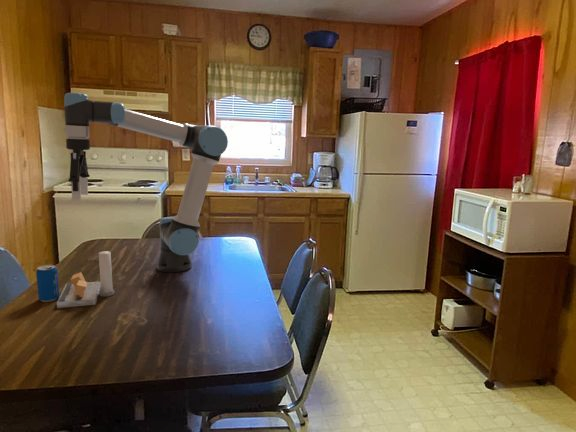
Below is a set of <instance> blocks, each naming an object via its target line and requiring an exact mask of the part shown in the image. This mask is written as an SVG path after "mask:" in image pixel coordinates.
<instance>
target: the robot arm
mask: <svg viewBox="0 0 576 432" xmlns="http://www.w3.org/2000/svg"><path fill="white" fill-rule="evenodd" d="M63 100H64V103H63V104H64V109H63V110H64V123H65V127H64V128H63V131H65V137H66V139H65V143H66V149H67V150H73V151H72V152H70V166H69V167H70V170H69V178H68V183H70V185H71V201H82V196H87V195H89V187H88V186H89V185H88V182H89V181H88V178H90V177H91V175H90V174H89V170H88V163H87V152H86V151H89V150H90V149H91V144H90V143H91V142H90V139H89V138H90V137H91V136H90V135H91V134H90V123H101V124H103V125H105V124H106V125H110V126H113V127H117V128H118V127H119V128H121V129H125V130H129V131H133V132H136V133H137V132H138V133H141V134H146V135H149V136H153V137H156V138H161V139H164V140H168V141H173V142H174V143H175V142H176V143H178V144H179V145H180V146H183V147H186V148H189V149H191V153H190V155H191V157H192V162H191V166H190V170H189V172H188V177H187V180H186V183H185V187H184V190H183V193H182V198H181V200H180V204H179V208H178V211H177V214H176V215H174V216H167V217H161V218H160V220H159V224H158V226H159V239H160V240H159V241H160V242H159V244H160V245H159V246H160V248H159V249H160V251H159V255H158V258H157V261H156V270H158V271H159V272H163V273H181V272H185V271H188V270H190V269H191V268H192V267H193V266H192V264H193V263H192V259H191V256H190V254H192V253H193V252H194V251H195V250H196V249H197V248H198V247H199V243H200V241H199V239H200V238H199V235H198V234H199V229H200V227H201V225H200V222H199V217H200V214H201V210H202V206H203V204H204V201H205V198H206V197H205V196H206V193H207V190H208V187H209V184H210V180H211V176H212V174H213V169H214V167H215V165H216V164H218V163H219V162H220V159H221V157H222V154H224V153H225V152H226V150H227V147H228V144H229V143H228V142H229V141H228V136H227V134H226V132H225V131H224V130H223V129H222V128H220V127H219V126H216V125H212V124H209V125H195V124H189V123H186V122H185V123H183V124H182V123H177V122H174V121H170V120H166V119H163V118H160V117H159V118H158V117H155V116H152V115H148V114H146V113H145V114H144V113H142V112H137V111H133V110H130V109H126V108H125V105H124V104H123V103H122V102H115V101H101V100H100V101H99V100H90V99H89V96H88V94H87V93H86V94H85V93H78V92H66V93H65V94H64V99H63Z"/></svg>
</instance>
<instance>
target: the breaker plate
mask: <svg viewBox="0 0 576 432" xmlns="http://www.w3.org/2000/svg"><path fill="white" fill-rule="evenodd" d="M87 282H88V283H87V286H86V289H85V292H84V294H83V297H79V298H76V296H73V295H74V292H75V287H74V285H73V283H65V285H64V287H63V289H62V291H61V293H60V294H59V297H58V298H57V300H56V308H57V309H60V308H62V309H63V308H73V307H74V308H75V307H82V306H83V307H84V306H94V305H97V302H98V301H97V300H98V297H99V292H100V291H101V284H100V281H91V282H89V281H87Z"/></svg>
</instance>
